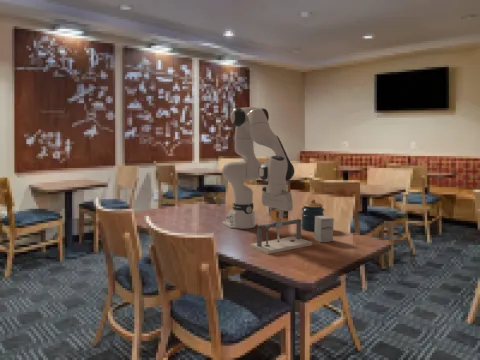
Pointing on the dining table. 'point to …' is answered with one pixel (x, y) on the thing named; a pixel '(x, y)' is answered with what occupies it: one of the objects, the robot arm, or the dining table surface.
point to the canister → (311, 214)
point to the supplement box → (323, 228)
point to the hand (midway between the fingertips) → (276, 217)
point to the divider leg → (276, 221)
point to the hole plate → (283, 243)
